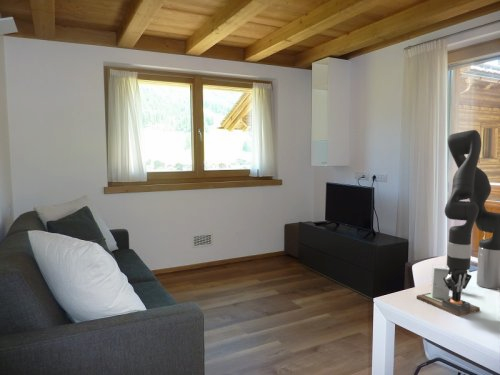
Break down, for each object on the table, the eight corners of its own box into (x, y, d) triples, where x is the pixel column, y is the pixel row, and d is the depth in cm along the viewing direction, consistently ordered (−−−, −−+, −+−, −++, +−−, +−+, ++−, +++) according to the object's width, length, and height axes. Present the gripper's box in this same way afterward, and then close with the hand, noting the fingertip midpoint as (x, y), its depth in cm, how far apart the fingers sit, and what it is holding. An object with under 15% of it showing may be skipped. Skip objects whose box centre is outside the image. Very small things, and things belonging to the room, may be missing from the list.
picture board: (436, 294, 151) (437, 285, 151) (479, 310, 135) (480, 301, 135) (416, 298, 146) (416, 289, 146) (458, 316, 130) (458, 306, 130)
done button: (454, 303, 137) (454, 298, 137) (464, 307, 133) (464, 301, 133) (447, 304, 135) (447, 299, 135) (457, 308, 132) (457, 303, 132)
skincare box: (432, 297, 144) (433, 268, 143) (430, 293, 148) (431, 264, 147) (449, 299, 142) (451, 269, 141) (447, 295, 146) (448, 266, 145)
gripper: (461, 250, 139) (458, 294, 140) (437, 254, 134) (434, 299, 135) (480, 255, 132) (477, 301, 134) (456, 259, 127) (453, 307, 128)
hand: (456, 300), depth 134 cm, fingers closed
